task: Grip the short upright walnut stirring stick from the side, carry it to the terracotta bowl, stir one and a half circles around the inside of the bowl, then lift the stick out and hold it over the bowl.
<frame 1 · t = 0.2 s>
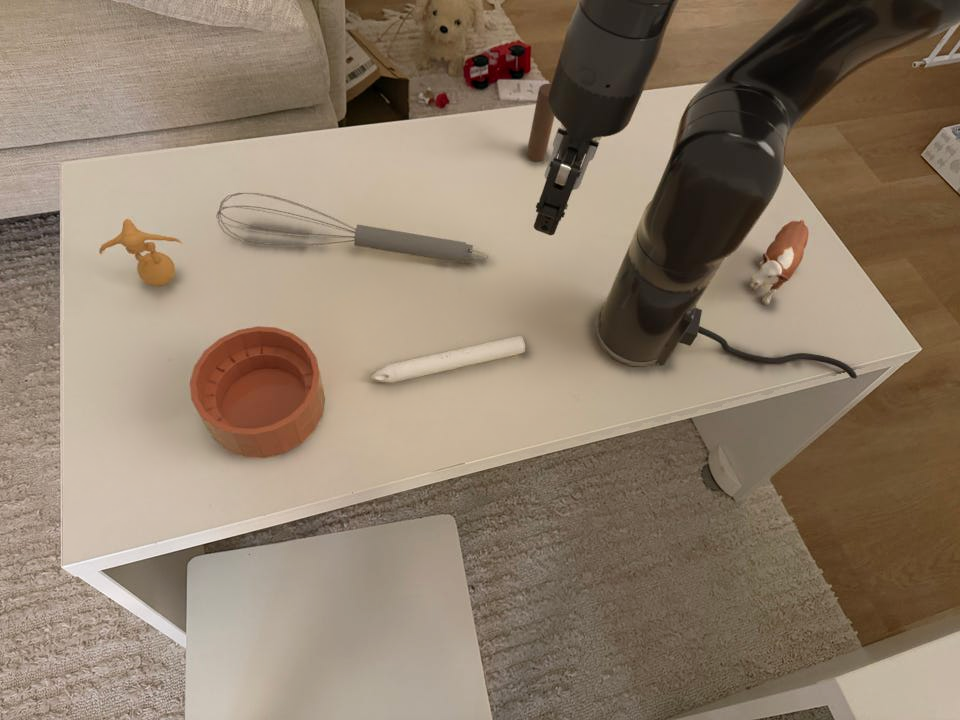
hand: (555, 202, 68), 17 cm above the table, tool pointing down, fingers open, 8 cm apart
bowl: (266, 407, 72), on the table
bull figurine: (762, 284, 88), on the table
figurine: (162, 287, 79), on the table
stirring stick: (535, 155, 97), on the table
marker: (448, 366, 77), on the table
kitchen whisk: (353, 245, 85), on the table
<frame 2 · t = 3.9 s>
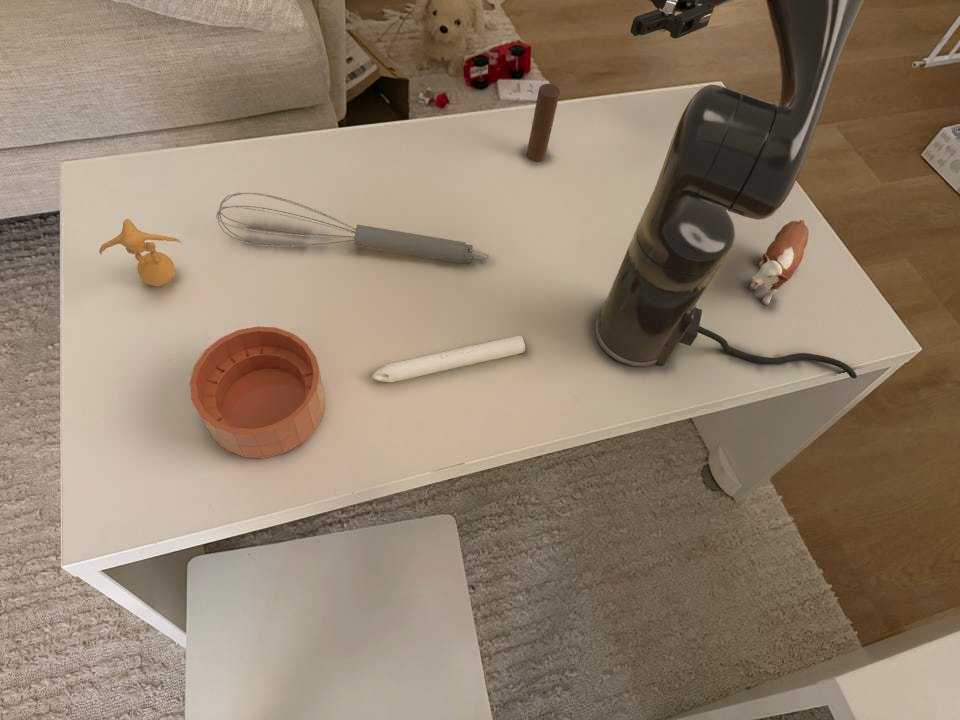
hand: (613, 7, 82), 21 cm above the table, tool horizontal, fingers open, 8 cm apart
nothing on the table moved.
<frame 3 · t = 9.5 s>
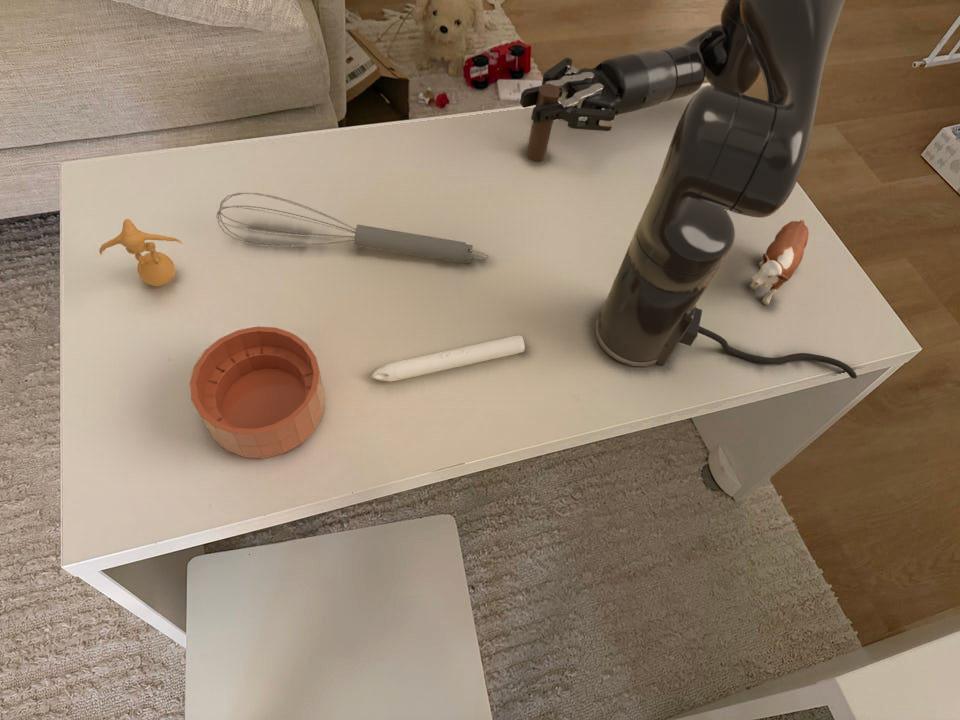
hand: (528, 107, 89), 9 cm above the table, tool horizontal, fingers closed on stirring stick, 2 cm apart
stirring stick: (535, 155, 97), on the table, touching gripper
everything else where it was.
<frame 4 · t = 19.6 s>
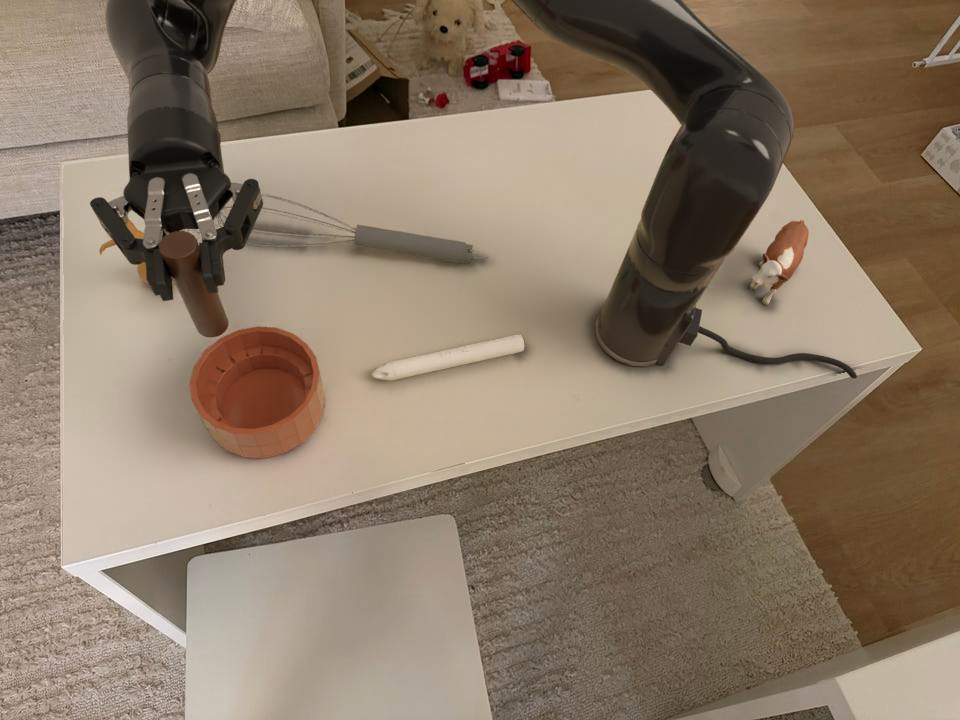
hand: (188, 289, 51), 23 cm above the table, tool horizontal, fingers closed on stirring stick, 2 cm apart
stirring stick: (212, 325, 60), point 14 cm above the table, touching gripper
everything else where it was.
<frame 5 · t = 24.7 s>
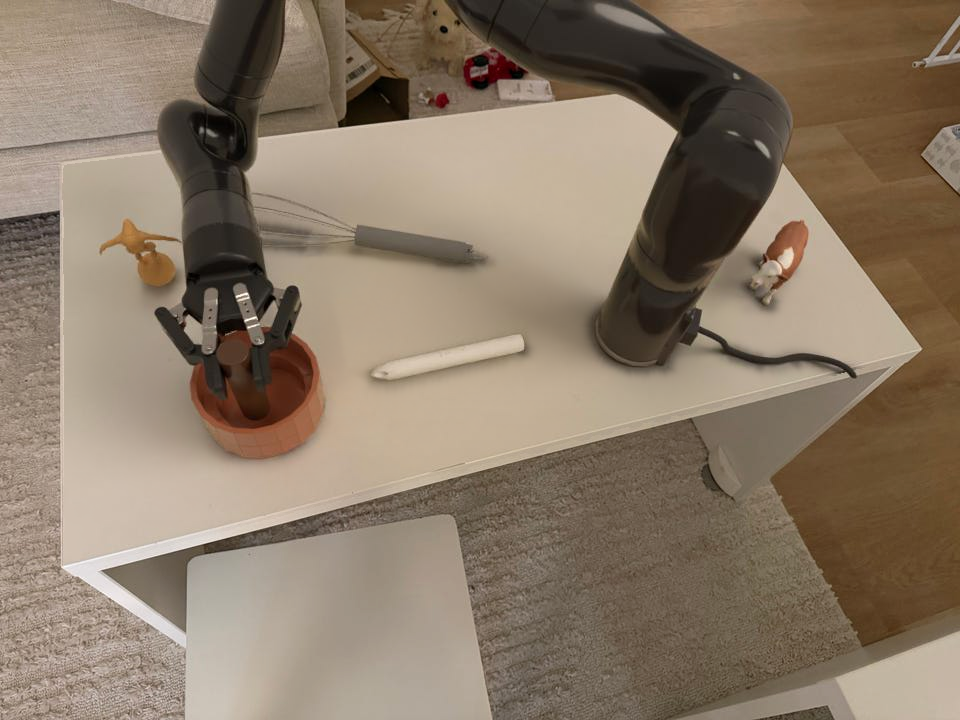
hand: (241, 390, 59), 12 cm above the table, tool horizontal, fingers closed on stirring stick, 2 cm apart
stirring stick: (256, 408, 68), point 3 cm above the table, touching gripper
everything else where it was.
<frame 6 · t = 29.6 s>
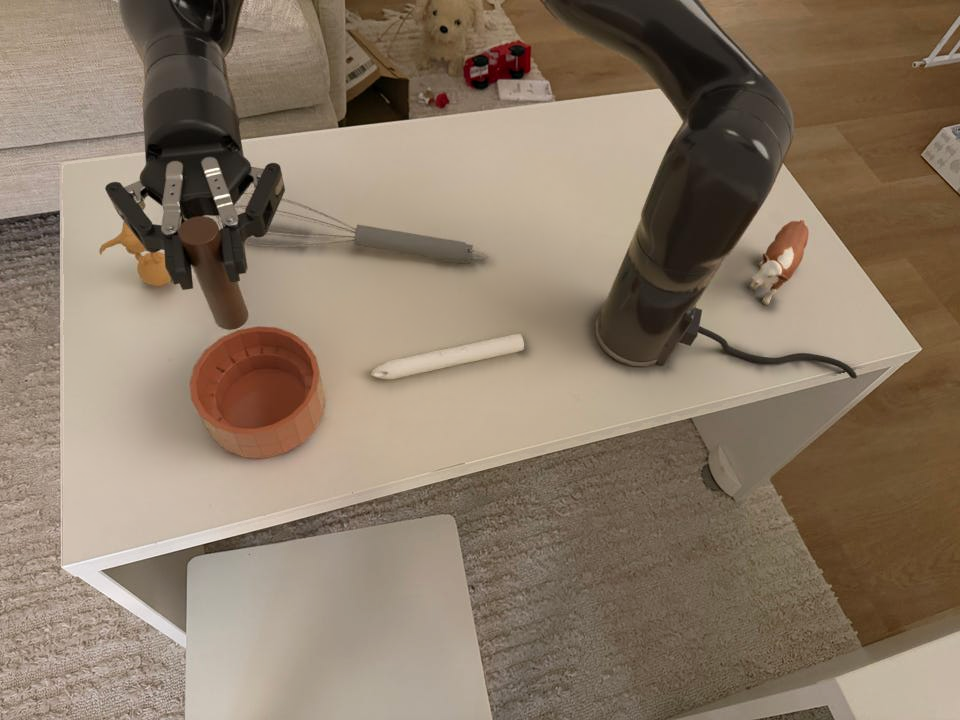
hand: (209, 278, 49), 26 cm above the table, tool horizontal, fingers closed on stirring stick, 2 cm apart
stirring stick: (231, 316, 58), point 17 cm above the table, touching gripper
everything else where it was.
at the end: the gripper is holding stirring stick; stirring stick 0.1 cm from the bowl (horizontally); stirring stick moved 56.1 cm from its start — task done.
